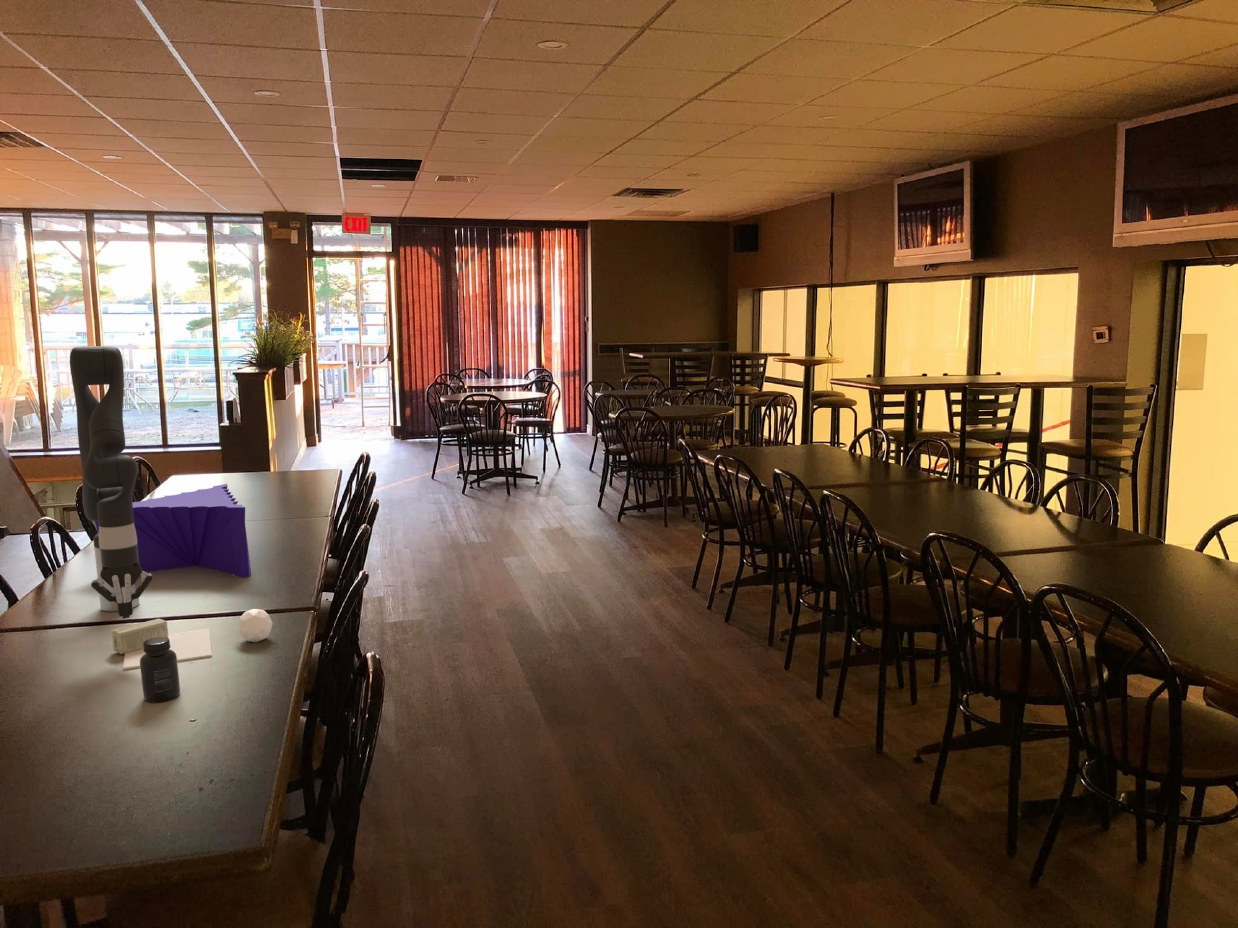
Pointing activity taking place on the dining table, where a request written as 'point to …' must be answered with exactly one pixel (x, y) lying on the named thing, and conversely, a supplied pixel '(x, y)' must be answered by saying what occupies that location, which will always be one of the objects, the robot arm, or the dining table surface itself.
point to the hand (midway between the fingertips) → (126, 617)
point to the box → (138, 635)
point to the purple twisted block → (192, 532)
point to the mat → (178, 648)
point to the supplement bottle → (159, 671)
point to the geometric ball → (254, 625)
